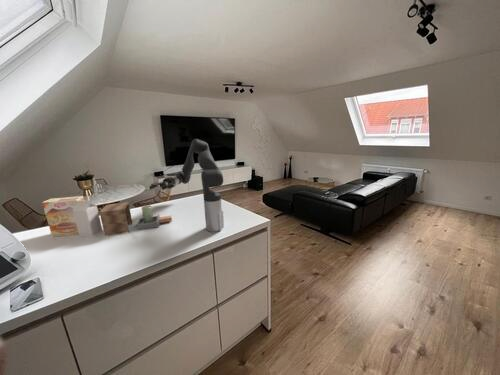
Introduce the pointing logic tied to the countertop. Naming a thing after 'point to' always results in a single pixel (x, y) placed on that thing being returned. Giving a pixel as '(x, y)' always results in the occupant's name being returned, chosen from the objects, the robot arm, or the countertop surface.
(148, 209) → the jar
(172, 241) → the countertop surface
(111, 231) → the cabinet
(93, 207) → the milk carton
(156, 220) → the tray
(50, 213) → the coffeecake box
